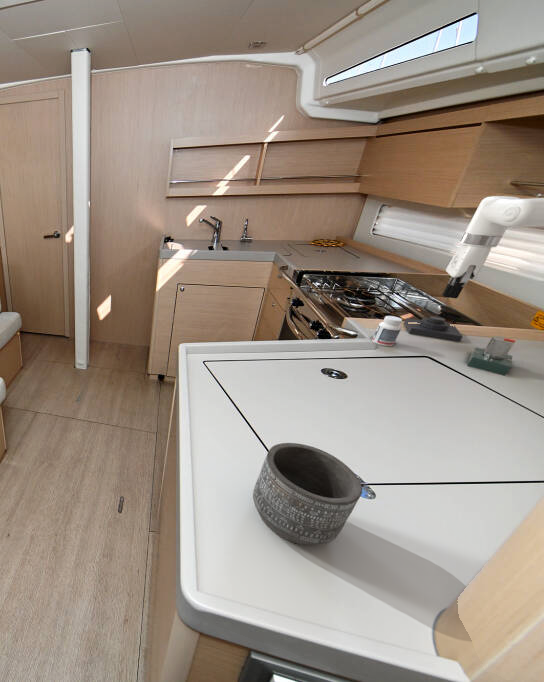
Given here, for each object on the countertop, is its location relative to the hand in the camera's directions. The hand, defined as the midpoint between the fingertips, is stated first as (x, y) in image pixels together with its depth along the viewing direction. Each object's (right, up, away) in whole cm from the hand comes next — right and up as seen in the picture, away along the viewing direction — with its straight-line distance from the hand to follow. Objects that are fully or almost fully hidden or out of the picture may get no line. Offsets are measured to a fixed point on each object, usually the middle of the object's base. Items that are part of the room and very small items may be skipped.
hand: (449, 296), depth 115 cm
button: (0, -8, +4) cm, 9 cm away
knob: (-5, -19, -15) cm, 24 cm away
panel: (-5, -22, -13) cm, 26 cm away
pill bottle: (-21, -15, +1) cm, 26 cm away
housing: (0, -12, +6) cm, 13 cm away
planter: (-93, -46, -54) cm, 117 cm away
